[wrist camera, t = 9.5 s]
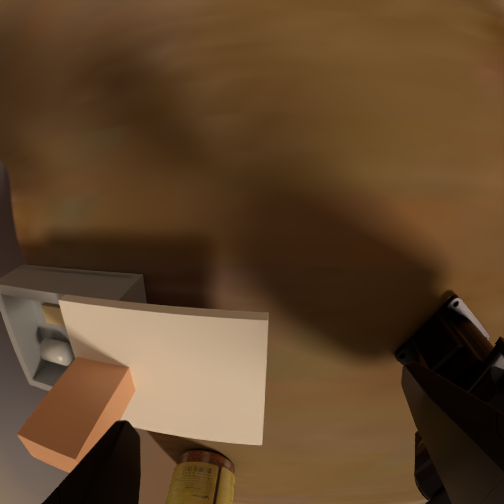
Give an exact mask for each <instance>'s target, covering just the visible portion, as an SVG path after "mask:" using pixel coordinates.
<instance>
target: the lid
mask: <svg viewBox="0 0 504 504" xmlns="http://www.w3.org/2000/svg"><path fill="white" fill-rule="evenodd" d="M58 301H59V305H60V308H61V312H62V316H63V320H64V323H65V327H66V330H67V333H68V337H69V340H70V343H71V346H72V350H73V353H74V356H75V360H74V361H73V362H72V363H71V365H70V366H69V367H68V368H67V370H66V371H65V372H64V373H63V375H62V376H61V377H60V378H59V380H58V381H57V382H56V383H55V385H54V386H53V387H52V388H51V390H50V391H49V392H48V393H47V395H46V396H45V397H44V399H43V400H42V401H41V402H40V404H39V405H38V407H37V408H36V409H35V410H34V412H33V413H32V414H31V416H30V417H29V418H28V420H27V421H26V422H25V424H24V425H23V426H22V428H21V429H20V431H19V432H18V433H17V435H18V436H19V438H20V439H21V441H22V442H23V443H24V445H25V447H26V448H27V450H28V451H29V452H30V454H31V455H32V456H33V457H35V458H37V459H39V460H41V461H44V462H46V463H48V464H50V465H52V466H55V467H57V468H59V469H62V470H64V471H66V472H69V473H70V472H71V471H72V470H73V469H74V468H75V467H76V465H77V464H78V463H79V462H80V461H81V460H82V459H83V458H84V456H85V455H86V454H87V453H88V452H89V451H90V450H91V448H92V447H93V446H94V445H95V444H96V443H97V442H98V441H99V439H100V438H101V437H102V436H103V435H104V434H105V433H106V431H107V430H108V429H109V428H110V427H111V426H112V425H113V424H114V422H115V421H118V420H127V421H129V422H130V424H131V425H132V426H133V427H135V428H140V429H144V430H149V431H153V432H159V433H164V434H169V435H175V436H181V437H188V438H194V439H202V440H209V441H218V442H227V443H238V444H250V445H262V438H263V422H264V404H265V385H266V365H267V343H268V320H269V312H252V311H234V310H218V309H203V308H190V307H178V306H166V305H155V304H145V303H135V302H125V301H116V300H107V299H99V298H90V297H82V296H75V295H67V294H65V295H64V296H63V297H61V298H60V299H59V300H58Z"/></svg>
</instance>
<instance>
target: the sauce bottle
mask: <svg viewBox="0 0 504 504" xmlns="http://www.w3.org/2000/svg"><path fill="white" fill-rule="evenodd" d="M234 469H235V468H234V465H233V463H231V461H229V460H228V459H226V458H225V457H224V456H222V455H220V454H217V453H214V452H212V451H211V452H210V451H205V450H189V451H187V452H184V453H183V454H181V455H180V457H179V458H178V462H177V465H176V467H175V469H174V472H173V476H172V480H171V484H170V488H169V492H168V496H167V500H166V504H232V502H233V493H234V484H235V477H234Z"/></svg>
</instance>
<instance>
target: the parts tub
mask: <svg viewBox="0 0 504 504" xmlns="http://www.w3.org/2000/svg"><path fill="white" fill-rule="evenodd" d="M65 294H67V295H75V296H82V297H90V298H99V299H107V300H116V301H125V302H135V303H145V304H147V300H146V293H145V286H144V278H143V274H134V273H120V272H106V271H93V270H81V269H69V268H57V267H46V266H35V265H25V264H22V265H21V266H19V267H17V268H16V269H14V270H12V271H11V272H9V273H8V274H6V275H4V276H3V277H1V278H0V310H1V313H2V317H3V319H4V322H5V325H6V328H7V331H8V334H9V336H10V339H11V341H12V344H13V347H14V350H15V352H16V354H17V357H18V359H19V361H20V364H21V366H22V368H23V371H24V373H25V376H26V378H27V380H28V382H29V384H30V385H33V386H35V387H38V388H41V389H44V390H47V391H50V390H51V388H52V387H53V386H54V385H55V383H56V382H57V381H58V380H59V378H60V377H61V376H62V375H63V373H64V372H65V371H66V370H67V368H68V367H69V366H70V365H71V363H72V362H73V361H74V360H75V356H74V353H73V350H72V346H71V343H70V340H69V337H68V333H67V330H66V327H65V323H64V320H63V316H62V312H61V308H60V305H59V301H58V300H59V299H60V298H61V297H63V296H64V295H65Z"/></svg>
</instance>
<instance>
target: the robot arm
mask: <svg viewBox="0 0 504 504" xmlns="http://www.w3.org/2000/svg"><path fill="white" fill-rule="evenodd" d="M455 301H456V303H455V304H454V302H455ZM453 304H454V305H453ZM488 340H489V335H488V333H487V332H486V331H485V329H484V328H483V327H482V325H481V324H480V323H479V321H478V320H477V319H476V318H475V316H474V315H473V314H472V312H471V311H470V310H469V309H468V307H467V306H466V305H465V304H464V303H463V301H462V300H461V299H460V298H459V297H458V296H456V295H455V296H452V297H451V298H450V299H449V300H448V301H447V302H446V303H445V304H444V305H443V306H442V307H441V308H440V309H439V310H438V311H437V312H436V313H435V314H434V315H433V316H432V317H431V318H430V319H429V320H428V321H427V322H426V323H425V324H424V325H423V326H422V327H421V328H420V329H419V330H418V331H417V332H416V333H415V334H414V335H413V336H412V337H411V338H410V339H409V340H407V341H406V342H405V343H404V344H403V345H402V346H401V347H400V348H399V349H398V350H397V351H396V352H395V357H396V359H397V360H398V361H399V362H400V363H401V364H402V365H404V366H403V370H402V381H401V384H402V388H403V391H404V394H405V397H406V399H407V402H408V405H409V408H410V411H411V413H412V416H413V419H414V422H415V425H416V427H417V429H418V431H417V432H416V433H415V473H414V477H415V481H416V485H417V487H418V489H419V491H420V492H421V494H422V495H423V496H424V497H425V498H426V499H427V500H428V502H426V504H504V338H502V337H499V339H498V340H497V342H496V343H495V344H496V345H495V347H493V346H492V345H491V343H490V342H489V341H488ZM402 353H403V355H401V356H400V354H402ZM140 470H141V469H140V436H139V434H138V432H137V431H136V430H135V429H134V427H133V426H132V425H131V424H130V422H129V421H127V420H118V421H115V422H114V424H113V425H112V426H111V427H110V428H109V429H108V430H107V431H106V433H105V434H104V435H103V436H102V437H101V438H100V439H99V441H98V442H97V443H96V444H95V445H94V446H93V447H92V448H91V450H90V451H89V452H88V453H87V454H86V455H85V456H84V458H83V459H82V460H81V461H80V462H79V463H78V464H77V465H76V467H75V468H74V469H73V470H72V471H71V472H70V473H69V474H68V476H67V477H66V478H65V479H64V480H63V481H62V482H61V484H60V485H59V487H57V488H56V489H55V490H54V491H53V492H52V493H51V495H50V496H49V497H48V498H47V499H46V500H45V501H44V502H43V503H42V504H138V501H139V489H140V477H141V471H140Z"/></svg>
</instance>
